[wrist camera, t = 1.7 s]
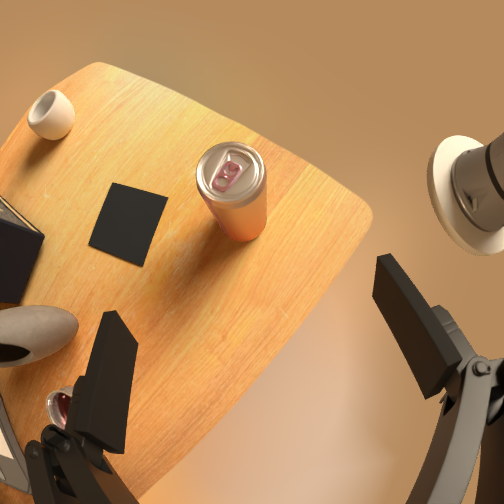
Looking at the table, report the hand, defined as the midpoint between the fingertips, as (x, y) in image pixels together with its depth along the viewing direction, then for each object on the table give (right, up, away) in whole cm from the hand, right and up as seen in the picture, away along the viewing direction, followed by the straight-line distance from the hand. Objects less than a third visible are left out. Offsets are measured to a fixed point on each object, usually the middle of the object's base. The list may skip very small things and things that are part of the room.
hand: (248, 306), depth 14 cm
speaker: (-45, +4, +26) cm, 52 cm away
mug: (-37, +28, +29) cm, 55 cm away
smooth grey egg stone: (-30, -10, +23) cm, 39 cm away
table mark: (-18, +7, +25) cm, 31 cm away
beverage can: (-1, +7, +24) cm, 25 cm away
